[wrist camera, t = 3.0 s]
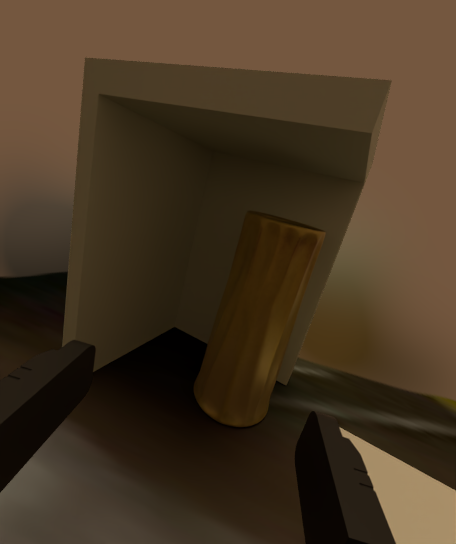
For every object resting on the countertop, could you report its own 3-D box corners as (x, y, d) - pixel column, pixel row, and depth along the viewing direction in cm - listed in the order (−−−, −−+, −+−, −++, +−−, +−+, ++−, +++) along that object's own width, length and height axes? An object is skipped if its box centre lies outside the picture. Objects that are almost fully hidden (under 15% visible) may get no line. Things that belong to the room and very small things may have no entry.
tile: (307, 564, 12) (313, 554, 12) (327, 430, 20) (331, 422, 20) (565, 762, 9) (580, 752, 9) (468, 509, 17) (474, 501, 17)
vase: (225, 361, 25) (268, 212, 21) (280, 401, 22) (345, 235, 18) (176, 388, 20) (221, 203, 16) (238, 446, 17) (313, 232, 13)
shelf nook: (60, 375, 19) (85, 57, 13) (171, 319, 30) (210, 134, 24) (232, 507, 14) (391, 80, 8) (288, 379, 25) (372, 163, 19)
